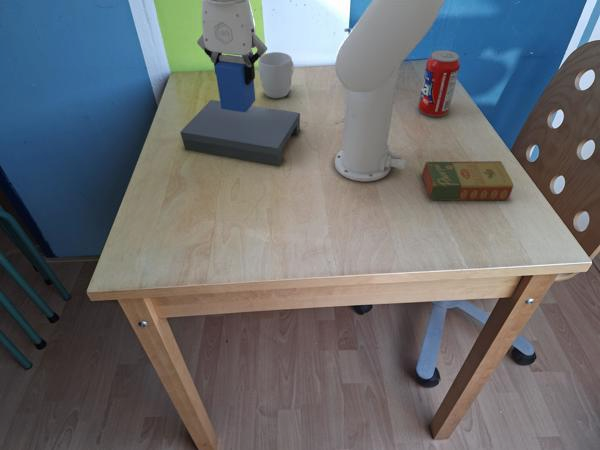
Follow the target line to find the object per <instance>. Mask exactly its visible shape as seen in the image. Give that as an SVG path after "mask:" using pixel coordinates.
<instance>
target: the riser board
mask: <svg viewBox="0 0 600 450" xmlns="http://www.w3.org/2000/svg"><path fill="white" fill-rule="evenodd" d="M300 131H301V113H300V112H297V111H289V110H284V109H283V110H282V109H276V108H269V107H263V106H256V105H251V106H250V108H249V109H248V110H247V111H246V112H239V111H233V110H226V109H221V103H220V100H214V99H210V100H209V101H208V103H206V104H205V106H203V107H202V108H201V110H200V111H199V112H198V113H197V114H196V115H195V116H193V118H192V119H191V120H190V121H189V122H188V123H187V124H186V125H185V126H184V127H183V128H182V129H181V130H180V132H179V134H180V137H181V140H182V143H183V147H184V150H186V151H192V152H196V153H197V152H198V153H201V154H202V153H203V154H209V155H214V156H220V157H224V158H230V159H236V160H242V161H248V162H252V163H253V162H254V163H259V164H264V165H268V166H269V165H270V166H275V167H280V165H281V164H282V163H283V149H284V147H285V145H286V144H287V142H288V140H289V139H290V137H291V136H295V137H298V135H299V134H300Z"/></svg>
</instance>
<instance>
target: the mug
mask: <svg viewBox="0 0 600 450" xmlns="http://www.w3.org/2000/svg"><path fill="white" fill-rule="evenodd" d="M257 61H258V73H259V79H260V83H261V88H262V90H263V93H264V94H265V95H266V96H267V97H269V98H271V99H282V98H284V97H286V96H287V95H289V93H290V91H291V88H292V87H291V86H292V80H293V74H294V70H295V66H294V61H293V59H292V56H291V55H289V54H287V53H285V52H279V51H272V52H268V53H264V54H263V55H262V56H261V57H260V58H259V59H258V60H257Z"/></svg>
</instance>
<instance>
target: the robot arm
mask: <svg viewBox="0 0 600 450" xmlns="http://www.w3.org/2000/svg"><path fill="white" fill-rule="evenodd" d="M445 1H446V0H371V1H370V3H369V4H368V6H367V7H366V9H365V10H364V12H363V13H362V15H361V16H360V17H359V19H358V20H357V22H356V23H355V25H354V26H353V27H352V28H353V29H352V30H351V32H348V35H347V36H346V37H345V39H344V40H343V42H342V43H341V44H340V46H339V48H338V49H337V51H336V55H335V62H334V67H335V73H336V77H337V78H338V80H339V82H340V83H341V84H342V86H344V87H345V88H346V91H345V105H344V120H343V121H344V123H343V133H342V134H343V135H342V149H341V150H340V151H339V152H338V153H336V155H335V157H334V167H335V169H336V171H337V172H338V173H339V175H341V176H342V177H344V178H347V179H349V180H352V181H355V182H373V181H378V180H380V179H382V178H385V177H386V176H387V175H388V174H389V173H390V171H391V168H396V169H401V170H404V169H405V168H406V167H405V166H406V162H407V160H406V159H402V154H401V153H397V152H396V153H395V152H392V151H390V144H388V143H389V135H390V134H389V133H390V128H391V121H392V115H393V107H394V103H395V97H396V89H397V85H398V79H399V74H400V70H401V65H402V63H403V62H404V61H405V60H406V59H407V57H408V56H409V55H410V54H411V53H412V52H413V51H414V49H416V47H417V46H418V45H419V44H420V43H421V41H422V40H423V39H424V38H425V36H426V35H427V34H428V32H429V31H430V30H431V28H432V27H433V25H434V24H435V21H436V20H437V18H438V16H439V14H440V12H441V9H442V8H443V6H444V3H445ZM201 23H202V24H201V25H202V27H201V28H202V34H201V36H200V37H199V38H198V39H197V41H196V43H197V46H199V47H200V48H201V49H202V50H203V51H204V53H205V54H206V56H208V57H209V59H210V61H211V63H213V67H214V69H215V65H216V64H217V63H218V62H219V61H220V60H219V56H220V55H233V56H241V57H243V59H244V62H245V64H246V66H245V67H244V73H245V83H246V85H249V84H250V83H251V82H252V81H253V80H254V81H255V79H256V72H255V70H256V69H255V63H256V62H257V61H259V58H260V57H261V56H262V55H264V54H266V52H267V51H268V47H267V46H266V45H265V43H264V42H263V41H262V40H261V39H260V37H259V36H257V33H256V24H255V20H254V14H253V9H252V5H251V3H250V0H201ZM254 48H256V49H257V51H256V52H255V53H254V51H253V49H254ZM214 74H215V75H216V71H215V70H214Z"/></svg>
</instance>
